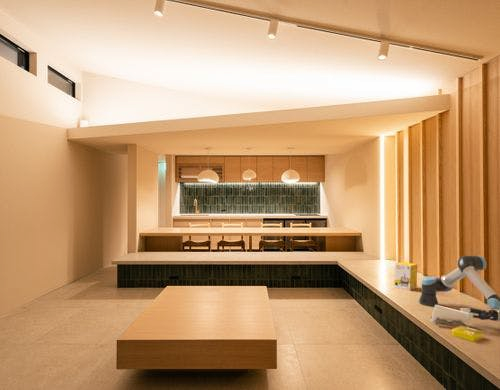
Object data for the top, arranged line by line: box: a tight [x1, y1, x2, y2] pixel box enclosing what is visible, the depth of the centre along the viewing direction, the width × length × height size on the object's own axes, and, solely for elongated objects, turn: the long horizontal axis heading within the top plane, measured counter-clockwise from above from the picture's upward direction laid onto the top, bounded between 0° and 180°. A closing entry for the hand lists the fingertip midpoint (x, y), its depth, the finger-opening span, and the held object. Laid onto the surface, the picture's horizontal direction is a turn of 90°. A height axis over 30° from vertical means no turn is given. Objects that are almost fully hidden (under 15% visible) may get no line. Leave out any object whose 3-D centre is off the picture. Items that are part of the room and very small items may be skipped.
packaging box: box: [393, 261, 418, 291], centre depth 375 cm, size 16×16×25 cm
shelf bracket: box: [430, 304, 471, 324], centre depth 265 cm, size 6×25×13 cm, turn 84°
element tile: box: [451, 326, 485, 343], centre depth 242 cm, size 15×15×5 cm
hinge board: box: [430, 315, 470, 330], centre depth 265 cm, size 20×20×4 cm
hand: (464, 312), depth 263 cm, fingers open, 13 cm apart
